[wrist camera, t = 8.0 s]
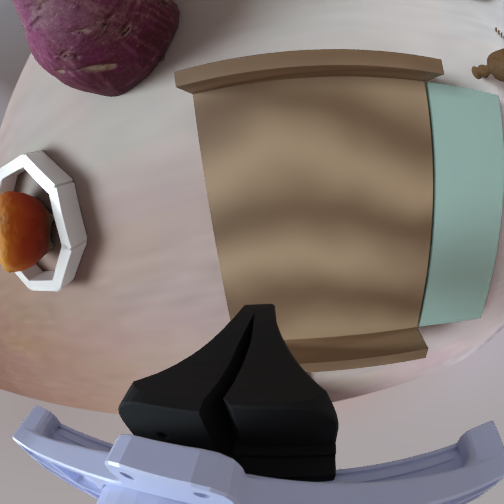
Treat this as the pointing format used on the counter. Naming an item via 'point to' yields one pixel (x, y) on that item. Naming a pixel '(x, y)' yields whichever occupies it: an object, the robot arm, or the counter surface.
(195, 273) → the counter surface
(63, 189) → the fruit dish
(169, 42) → the vegetable
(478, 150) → the panel
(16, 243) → the fruit
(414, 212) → the tan lipped tray
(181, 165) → the counter surface
